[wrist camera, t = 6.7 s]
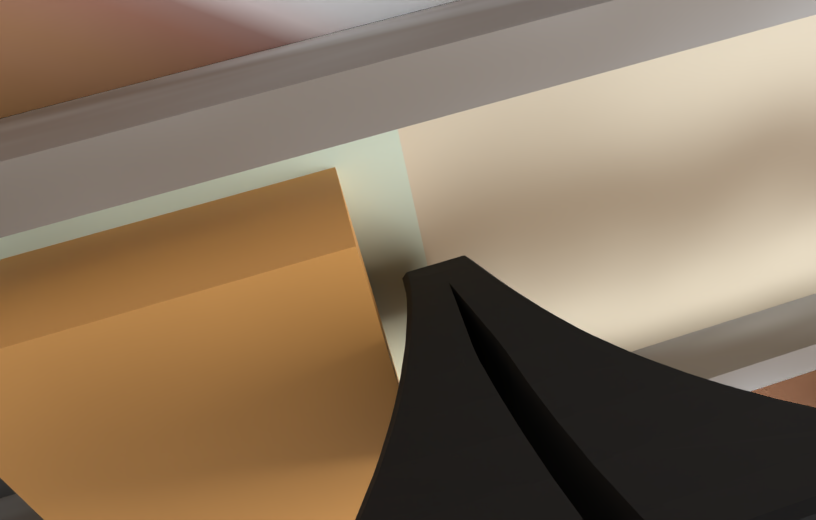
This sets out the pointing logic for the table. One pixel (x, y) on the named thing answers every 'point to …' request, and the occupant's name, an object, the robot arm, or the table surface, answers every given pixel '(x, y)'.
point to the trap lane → (495, 164)
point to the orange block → (198, 365)
